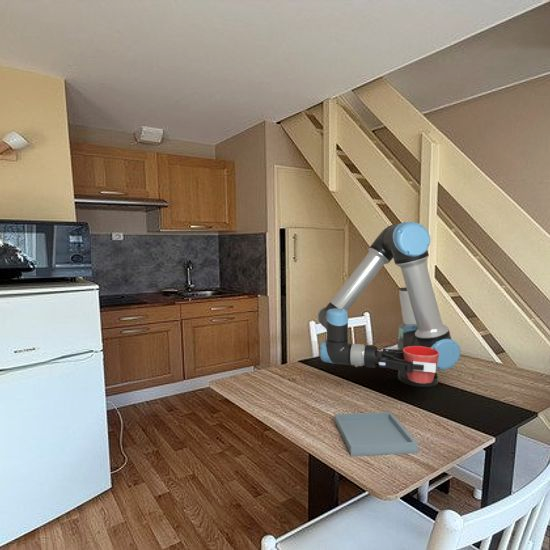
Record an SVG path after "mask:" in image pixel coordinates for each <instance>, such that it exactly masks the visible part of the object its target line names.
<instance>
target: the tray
mask: <svg viewBox="0 0 550 550" xmlns="http://www.w3.org/2000/svg"><path fill="white" fill-rule="evenodd" d="M334 424H335V426H336V428H337V430H338V432H339V434H340V436H341V438H342V440H343V442H344V444H345V446H346V447H345V448H347V451H348V453H349V454H350V457H362V456H363V457H364V456H382V455H383V456H384V455H402V454H404V455H406V454H419V442H417V440H416V439H415V438H414V437H413V435H412V434H411V433H410V432H409V431H408V430H407V429H406V428H405V427H404V426H403V424H402V423H401V421H399V420H398V418H397V417H396V416H395V415H394V414H393V412H391V411H385V412H382V411H381V412H380V411H379V412H377V411H376V412H360V413H359V412H357V413H354V412H353V413H335V414H334Z"/></svg>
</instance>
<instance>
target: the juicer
mask: <svg viewBox="0 0 550 550" xmlns="http://www.w3.org/2000/svg"><path fill="white" fill-rule="evenodd" d="M398 294H399V296H398V297H399V302H400V309H401V317H402V322H401V323H400V324H399V327H398V331H397V332H398V337H397V340H398V341H397V349H403V329H404V326H405V325H408V324H416V321H415V317H414V313H413V310H412V306H411V303H410V299H409V296H408V292H407V288H406V286H405V287H404V286H403V287H399V288H398Z"/></svg>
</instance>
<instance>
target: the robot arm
mask: <svg viewBox="0 0 550 550" xmlns="http://www.w3.org/2000/svg"><path fill="white" fill-rule="evenodd" d="M430 245H431V235H430V233H429V231H428V229H427V228H426V227H425V226H424V225H423V224H421V223H419V222H412V221H406V222H401V223H400V222H399V223H395V224H391V225H389V226H386V227H385V228H384V229H383V230H382V231H381V232H380V233H379V234H378V236H377V237H376V238H375V239H374V241H373V242H372V244H371V245H370V246H369V247H368V253H367V254H366V256H364V258H363V259H362V260H361V262H359V264H358V265H357V266H356V268H355V270H354V271H353V272H352V273H351V275H350V276H349V277H348V278H347V280H346V281H345V282H344V284H343V285H342V286H341V287H340V288H339V290H338V291H337V292H336V294H335V295H334V296H333V297H332V299H331V300H330V301H329V303H328V304H327V305H326V306H325V307H322V308H321V309H320V310H319V311H318V313H317V319H318V321H319V324H320V325H321V326H322V327H324V329H325V330H326V340H324V341H322V342H321V344H320V346H319V348H320V349H319V357H320V360H321V361H322V362H324V363H329V364H334V365H335V364H336V365H346V366H348V365H349V366H354V367H355V368H358V367H363V366H365V368H371V369H376V368H377V364H378V367H379V368H386V369H390V370H395V371H397V379H398V380H399V381H400V382H401V383H403V384H406V385H408V386H413V387H419V388H431V387H435V386H437V385H438V383H439V376H438V372H437V370H440V371H446V370H449V369H451V368H453V367H454V366H456V364H457V362H458V361H459V360H460V357H461V348H460V345H459V344H458V343H457V342H456V341H455V340H454V339H452V336H451V332H450V329H449V327H448V326H446V324H444V323H443V321H442V320H443V319H442V317H441V313H440V309H439V306H438V305H439V304H438V303H437V299H436V298H437V297H436V296H435V295H436V294H435V291H434V287H433V283H432V280H431V277H430V276H431V275H430V273H429V269H428V265H427V259H428V258H429V257H430V254H429V251H428V249H429V246H430ZM392 260H393V261H394V264H395V265H396V266H397V267H399V269H400V270H401V274H402V276H403V280H404V285H405V287H406V288H407V292H408V296H409V299H410V303H411V306H412V310H413V313H414V317H415V321H416V324H408V325H405V326H404V329H403V349H404V348H405V347H409V346H423V347H429V348H432V349H435V350H437V351H438V352H439V357H438V362H437V366H436V363H427V362H416V361H413V362H409V361H405V360H404V355H403V349H398V348H397V349H396V348H382V351H381V350H378V347H377V346H376V345H371V344H366V345H365V344H360V343H349V316H348V311H349V310H350V308H351V307H352V306H353V305H354V303H355V302H356V301H357V299H358V298H359V297H360V295H361V294H362V293H363V292H365V290H366V288H367V287H368V285H370V283H371V282H372V280H373V279H374V278H375V277H376V276H377V274H378V273H379V272H380V270H381V269H382V268H383V267H384V265H387V264H389V263H390V262H391V261H392ZM413 370H416V371H425V372H434V373H435V375H434V379H433V381H432V382H431V383H416V382H413V381H411V380H409V379H408V376H407V372H410V373H413Z"/></svg>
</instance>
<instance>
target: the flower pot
mask: <svg viewBox="0 0 550 550" xmlns="http://www.w3.org/2000/svg"><path fill="white" fill-rule="evenodd" d="M403 355H404V360H405V361H409V362H413V361H416V362H427V363H436V366H437V362H438V357H439V352H438V351H437V350H435V349H432V348H429V347H423V346H409V347H405V348H404V349H403ZM434 375H435V373H434V372H425V371H416V370H413V373H410V372H407V376H408V379H409V380H411V381H413V382H416V383H431V382H432V381H433V379H434Z"/></svg>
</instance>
